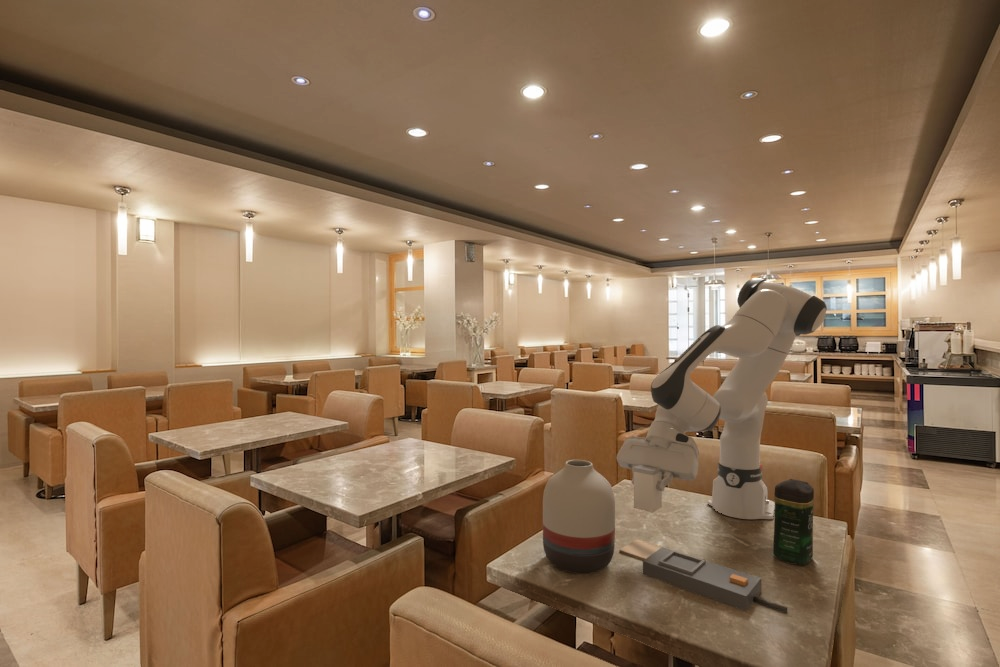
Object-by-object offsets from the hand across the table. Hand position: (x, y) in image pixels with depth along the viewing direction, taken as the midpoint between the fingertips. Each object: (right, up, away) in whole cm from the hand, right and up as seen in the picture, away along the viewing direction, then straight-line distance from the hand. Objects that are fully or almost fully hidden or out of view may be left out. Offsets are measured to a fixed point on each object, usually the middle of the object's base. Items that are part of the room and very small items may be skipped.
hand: (646, 486), depth 124 cm
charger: (0, -5, 0) cm, 5 cm away
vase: (-18, -17, -4) cm, 25 cm away
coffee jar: (+35, -17, -2) cm, 39 cm away
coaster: (0, -17, +1) cm, 17 cm away
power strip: (+10, -17, -16) cm, 25 cm away
